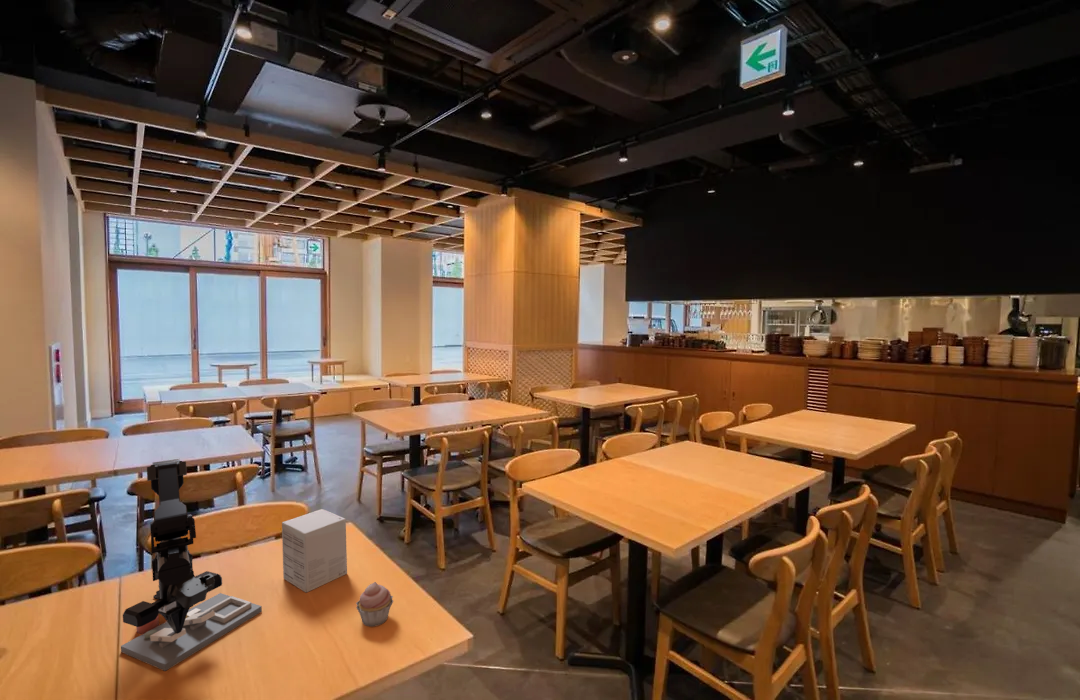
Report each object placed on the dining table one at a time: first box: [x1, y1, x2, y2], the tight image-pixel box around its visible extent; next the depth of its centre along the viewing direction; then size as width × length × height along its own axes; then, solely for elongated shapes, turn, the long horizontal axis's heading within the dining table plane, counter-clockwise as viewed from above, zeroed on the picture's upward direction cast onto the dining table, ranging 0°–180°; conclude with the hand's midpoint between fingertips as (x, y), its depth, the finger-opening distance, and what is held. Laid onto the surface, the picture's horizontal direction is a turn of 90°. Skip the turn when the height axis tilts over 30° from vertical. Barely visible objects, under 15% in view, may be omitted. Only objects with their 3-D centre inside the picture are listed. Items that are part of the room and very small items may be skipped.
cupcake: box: [355, 581, 394, 628], centre depth 130 cm, size 9×9×10 cm
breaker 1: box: [150, 628, 186, 642], centre depth 118 cm, size 8×4×1 cm, turn 68°
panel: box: [120, 592, 263, 672], centre depth 125 cm, size 16×24×3 cm, turn 158°
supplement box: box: [281, 508, 348, 593], centre depth 150 cm, size 13×13×18 cm
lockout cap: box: [136, 614, 160, 635], centre depth 125 cm, size 4×4×6 cm
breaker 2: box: [183, 610, 215, 626], centre depth 124 cm, size 8×4×1 cm, turn 67°
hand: (178, 632), depth 116 cm, fingers closed, pressing on breaker 1
